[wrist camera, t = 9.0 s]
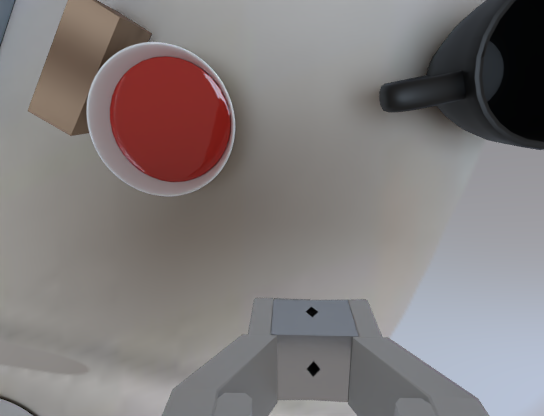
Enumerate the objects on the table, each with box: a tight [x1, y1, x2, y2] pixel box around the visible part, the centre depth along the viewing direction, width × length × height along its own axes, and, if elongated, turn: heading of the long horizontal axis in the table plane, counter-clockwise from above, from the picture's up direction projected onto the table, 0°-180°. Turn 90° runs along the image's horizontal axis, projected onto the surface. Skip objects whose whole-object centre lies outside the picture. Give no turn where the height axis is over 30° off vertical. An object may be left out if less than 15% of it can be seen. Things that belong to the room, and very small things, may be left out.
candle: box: [87, 42, 235, 196], centre depth 24 cm, size 9×9×6 cm
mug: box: [379, 0, 544, 150], centre depth 21 cm, size 8×12×10 cm
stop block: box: [28, 0, 152, 136], centre depth 24 cm, size 8×3×5 cm, turn 149°
